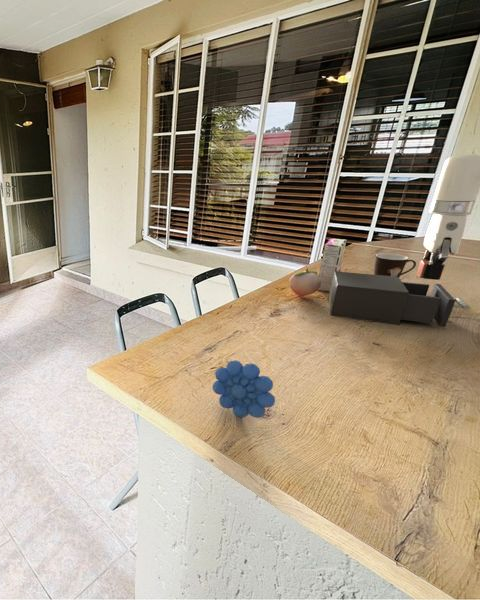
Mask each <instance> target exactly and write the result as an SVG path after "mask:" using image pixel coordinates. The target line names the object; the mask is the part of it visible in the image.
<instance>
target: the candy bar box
mask: <svg viewBox="0 0 480 600" xmlns="http://www.w3.org/2000/svg"><path fill="white" fill-rule="evenodd" d="M347 241H348V240H347V239H341V238H330V239H329V240H328V241H327V242H326V243H325V244H324V247H323V253H322V258H321V262H320V268H319V273H318V276H319V277H320V279H321V285H320V288H319V289H318V290H317V291H319V292H320V291H321V292H328V293H330V290H331V286H332V281H333V277H334V273H335V271H338V272H341V269H342V264H343V258H344V254H345V249H346V244H347Z"/></svg>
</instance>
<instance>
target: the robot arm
mask: <svg viewBox="0 0 480 600" xmlns="http://www.w3.org/2000/svg"><path fill="white" fill-rule="evenodd" d="M435 188H436V189H435V192H434V194H433V198H432V201H431V204H430V208H429V210H428V213H429V214H432V216H431V218H430V221H429V224H428V226H427V230H426V232H425V235H424V239H423V243H422V244H423V247H424V248H425V251H424V254H423V256H422V259H421V260H426V261H429V264H427V265H426V268H425V271H424V274H423V278H422V279H424V280H434V281H440V280H441V278H440V276H441V277H442V275H441V273H442V274H443V272H442V270H443V271H444V269H443V267H444V265H445V266H446V261H447V259H448V258H449V254H450V255H452V256H453V255H454V256H455V255H457V254H458V252H459V250H460V246H461V243H462V240H463V236H464V232H465V228H466V224H467V218H468V216H470V215H471V214H472V212H473V209H474V206H475V203H476V201H477V198H478V195H479V192H480V154H457V155H452V156H450V157H447V159H445V161H444V163H443V166H442V170H441V172H440V176H439V179H438V182H437V186H436V187H435ZM444 268H445V267H444ZM439 279H440V280H439Z"/></svg>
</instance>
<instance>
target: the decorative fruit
mask: <svg viewBox="0 0 480 600" xmlns="http://www.w3.org/2000/svg"><path fill="white" fill-rule="evenodd" d="M288 285H289V288H290V290H291V291H292V292H293V293H294V294H296V295H297V296H298V297H301V298H302V297H306V296H309V295H312V294H315V293H316V292H317V291H319V290H318V289H319V288H320V285H321V279H320V277H319V274H318V272H317V271H316V270H312V269H310V270H309V268H306V270H303V271H297V272H295V273H294V274H293V275H292V276H291V277H290V278H289V281H288Z"/></svg>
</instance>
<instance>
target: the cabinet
mask: <svg viewBox="0 0 480 600" xmlns="http://www.w3.org/2000/svg"><path fill="white" fill-rule="evenodd" d="M402 282H403V281H402V280H401V278H400V277H394V276H383V275H374V274H370V273H359V272H350V271H349V272H346V271H340V272H338V271H335V273H334V277H333V281H332V286H331V290H330V292H329V294H328V306H329V307H328V308H329V314H330V316H331V317H339V318H347V319H352V320H353V319H354V320H361V321H366V322H367V321H368V322H373V323H374V322H375V323H381V324H388V325H395V326H400V323H401V317H402V314H403V311H404V307H405V304H406V301H407V298H408V295H409V292H408V290H407V289H406V287H405V286H404V284H403V283H402Z"/></svg>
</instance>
